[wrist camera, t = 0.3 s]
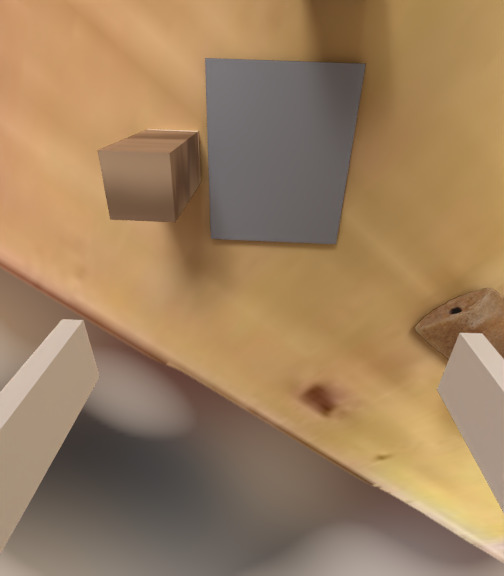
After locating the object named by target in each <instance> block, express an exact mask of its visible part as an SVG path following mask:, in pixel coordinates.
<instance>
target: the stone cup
mask: <svg viewBox="0 0 504 576" xmlns="http://www.w3.org/2000/svg"><path fill="white" fill-rule="evenodd" d="M415 329H416V332H417V333H418V334H419V335H420V336H422V337H423V338H424V339H425V340H426V341H427V342H428V343H429V344H430V345H431V346H433V347H434V348H435V349H437V350H438V351H439V352H441V353H442V354H443V355H444V356H445V357H446V358H448V359H449V358H450V356H451V353H452V351H453V348H454V346H455V343H456V341H457V338H458V336H459V333H482V334H483V335H484V336H485V337H486V338H487V340H488V341H489V342H490V343H491V344H492V346H493V347H494V348H495V349H496V350H497V352H498V353H499V354H500V355H501V356H502V358H503V359H504V298H502V297H501V296H500V295H499V293H497V292H496V291H495V290H493V289H491V288H484V289H481V290H478V291H475V292H470V293H467V294H465V295H462V296H459V297H457V298H455V299H452V300H449V301H448V302H447V303H445V304H443V305H441V306H439V307H438V308H436V309H434V310H433V311H431V312H430V313H429V314H428V315H426V316H425V317H424V318H423V319H422V320H421V321H420V322H419V323H418V324H417V325H416V327H415Z"/></svg>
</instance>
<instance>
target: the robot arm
mask: <svg viewBox="0 0 504 576" xmlns="http://www.w3.org/2000/svg"><path fill="white" fill-rule="evenodd" d="M98 379H99V373H98V369H97V366H96V363H95V359H94V355H93V352H92V349H91V345H90V342H89V338H88V335H87V331H86V328H85V325H84V321H83V320H65V319H62V320H61V321H60V322H59V324H58V325H57V326H56V327H55V328H54V329H53V331H52V332H51V333H50V334H49V335H48V336H47V338H46V339H45V340H44V341H43V343H42V344H41V345H40V346H39V347H38V348H37V350H36V351H35V352H34V353H33V354H32V355H31V357H30V358H29V359H28V360H27V361H26V362H25V364H24V365H23V366H22V367H21V368H20V369H19V371H18V372H17V373H16V374H15V375H14V377H13V378H12V379H11V380H10V381H9V383H8V384H7V385H6V386H5V387H4V388H3V390H2V391H1V392H0V554H1V552H2V550H3V549H4V547H5V545H6V543H7V541H8V540H9V538H10V536H11V534H12V532H13V531H14V529H15V527H16V525H17V524H18V522H19V520H20V518H21V516H22V515H23V513H24V511H25V509H26V507H27V506H28V504H29V502H30V500H31V498H32V497H33V495H34V493H35V491H36V490H37V488H38V486H39V484H40V482H41V481H42V479H43V477H44V475H45V474H46V472H47V470H48V468H49V466H50V465H51V463H52V461H53V459H54V457H55V455H56V454H57V452H58V450H59V448H60V447H61V445H62V443H63V441H64V440H65V438H66V436H67V434H68V432H69V431H70V429H71V427H72V425H73V424H74V422H75V420H76V418H77V416H78V415H79V413H80V411H81V409H82V407H83V406H84V404H85V402H86V400H87V398H88V397H89V395H90V393H91V391H92V389H93V388H94V386H95V384H96V382H97V381H98ZM437 390H438V392H439V394H440V396H441V398H442V400H443V402H444V403H445V405H446V407H447V409H448V411H449V413H450V415H451V416H452V418H453V420H454V422H455V424H456V426H457V427H458V429H459V431H460V433H461V435H462V437H463V439H464V440H465V442H466V444H467V446H468V448H469V450H470V452H471V453H472V455H473V457H474V459H475V461H476V463H477V464H478V466H479V468H480V470H481V472H482V474H483V476H484V477H485V479H486V481H487V483H488V485H489V487H490V488H491V490H492V492H493V494H494V496H495V498H496V500H497V501H498V503H499V505H500V507H501V509H502V511H503V513H504V359H503V358H502V356H501V355H500V354H499V353H498V352H497V350H496V349H495V348H494V347H493V346H492V344H491V343H490V342H489V341H488V340H487V338H486V337H485V336H484V335H483V334H482V333H459V336H458V338H457V341H456V343H455V346H454V348H453V351H452V353H451V356H450V358H449V361H448V363H447V366H446V368H445V371H444V373H443V376H442V378H441V380H440V383H439V385H438V388H437Z"/></svg>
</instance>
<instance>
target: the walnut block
mask: <svg viewBox="0 0 504 576" xmlns="http://www.w3.org/2000/svg"><path fill="white" fill-rule="evenodd" d="M98 155H99V160H100V166H101V171H102V177H103V182H104V188H105V193H106V199H107V204H108V209H109V215H110V219H111V220H135V221H158V222H176V220H177V219H178V217H179V216H180V214H181V213H182V211H183V210H184V208H185V206H186V205H187V203H188V202H189V200H190V199H191V197H192V196H193V194H194V192H195V191H196V189H197V188H198V186H199V185H200V183H201V174H200V151H199V131H185V130H159V129H147V130H145V131H142V132H140V133H138V134H135V135H133V136H130V137H128V138H126V139H123V140H121V141H119V142H116V143H114V144H111V145H109V146H107V147H104V148H102V149H100V150H98Z"/></svg>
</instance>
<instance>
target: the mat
mask: <svg viewBox="0 0 504 576" xmlns="http://www.w3.org/2000/svg"><path fill="white" fill-rule="evenodd" d="M365 66H366V64H358V63H330V62H301V61H273V60H244V59H215V58H205V67H206V99H207V131H208V163H209V195H210V227H211V239H227V240H250V241H273V242H296V243H319V244H336V241H337V235H338V229H339V223H340V217H341V211H342V205H343V199H344V193H345V186H346V180H347V174H348V168H349V162H350V156H351V150H352V144H353V138H354V132H355V126H356V120H357V114H358V108H359V102H360V96H361V90H362V84H363V78H364V72H365Z"/></svg>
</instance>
